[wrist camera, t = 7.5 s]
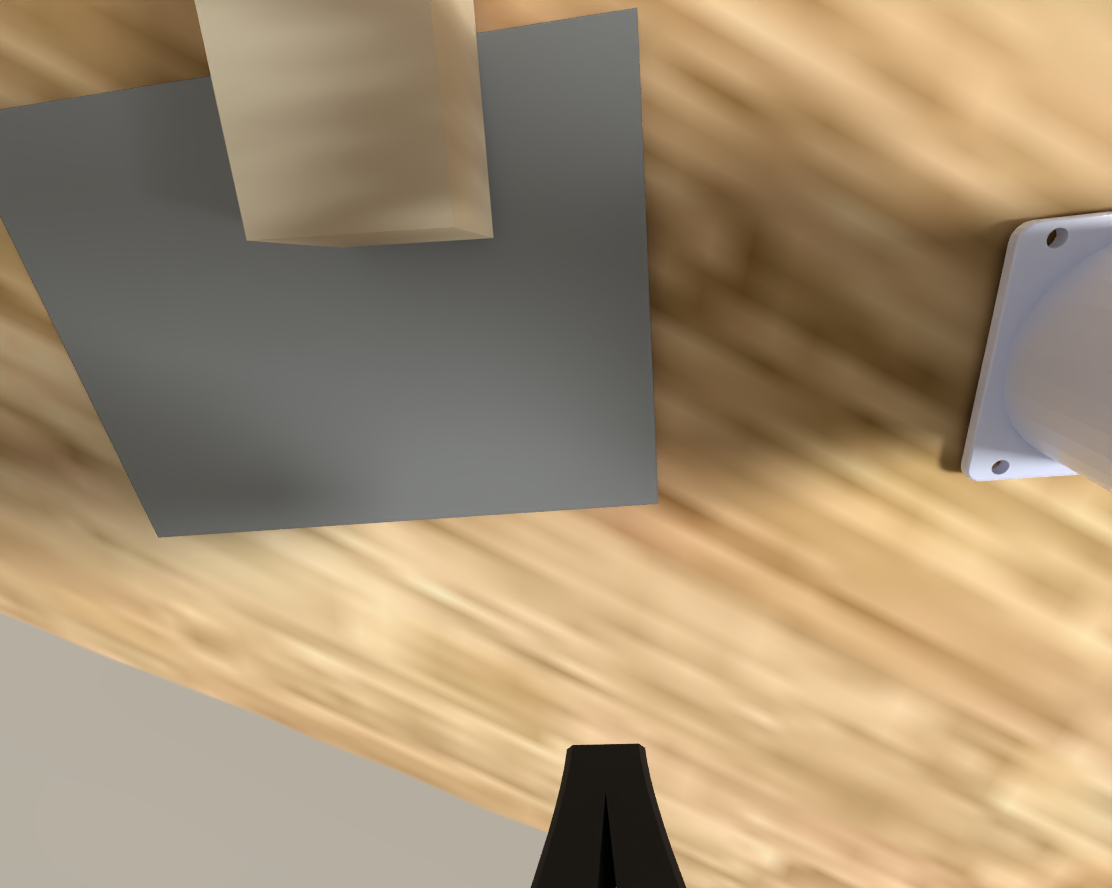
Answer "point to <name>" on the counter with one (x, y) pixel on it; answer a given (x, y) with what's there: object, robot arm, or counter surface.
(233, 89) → the tall block
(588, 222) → the mat
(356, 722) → the counter surface
